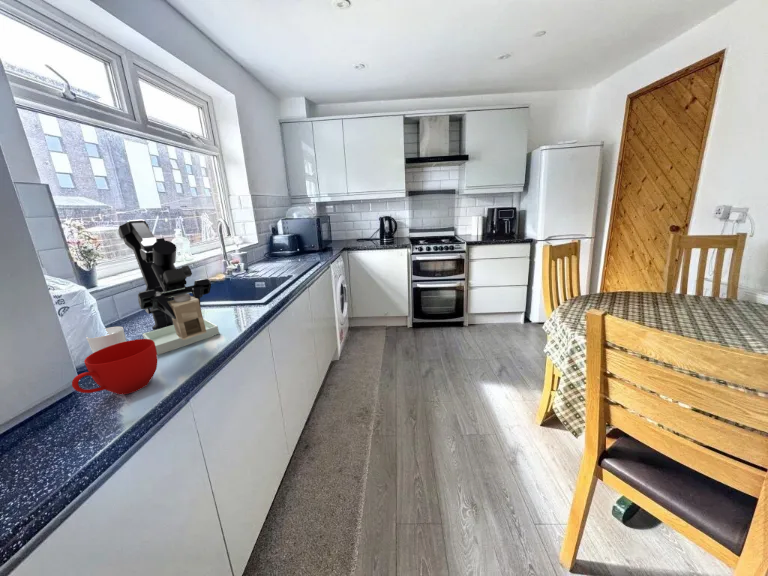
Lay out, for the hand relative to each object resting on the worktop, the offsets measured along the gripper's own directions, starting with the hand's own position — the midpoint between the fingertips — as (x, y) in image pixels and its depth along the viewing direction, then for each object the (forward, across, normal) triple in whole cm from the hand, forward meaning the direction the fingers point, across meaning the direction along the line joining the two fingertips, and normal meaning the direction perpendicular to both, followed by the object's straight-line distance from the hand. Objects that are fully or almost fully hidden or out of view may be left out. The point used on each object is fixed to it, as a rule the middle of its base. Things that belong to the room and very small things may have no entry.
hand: (187, 314), depth 90 cm
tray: (-2, 0, +18) cm, 18 cm away
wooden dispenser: (+4, 0, +6) cm, 7 cm away
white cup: (+1, -18, +16) cm, 24 cm away
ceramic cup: (+16, -19, 0) cm, 25 cm away
